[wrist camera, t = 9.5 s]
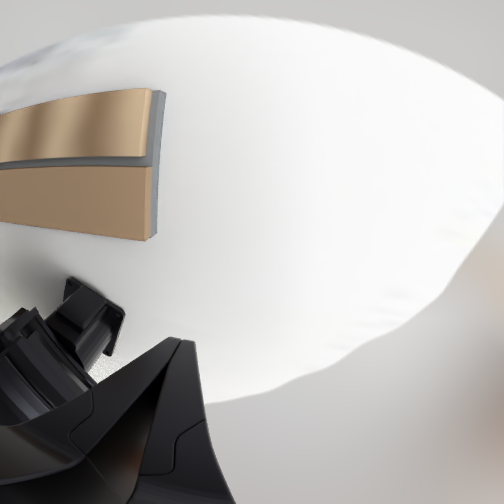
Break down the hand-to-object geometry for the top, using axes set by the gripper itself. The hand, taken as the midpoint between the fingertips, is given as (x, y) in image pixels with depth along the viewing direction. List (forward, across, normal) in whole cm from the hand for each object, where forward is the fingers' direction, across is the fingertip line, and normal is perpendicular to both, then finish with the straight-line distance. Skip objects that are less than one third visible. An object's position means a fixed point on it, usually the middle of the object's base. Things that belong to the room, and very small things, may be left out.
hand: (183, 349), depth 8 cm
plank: (+11, +16, -7) cm, 20 cm away
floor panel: (+12, +16, -4) cm, 20 cm away
